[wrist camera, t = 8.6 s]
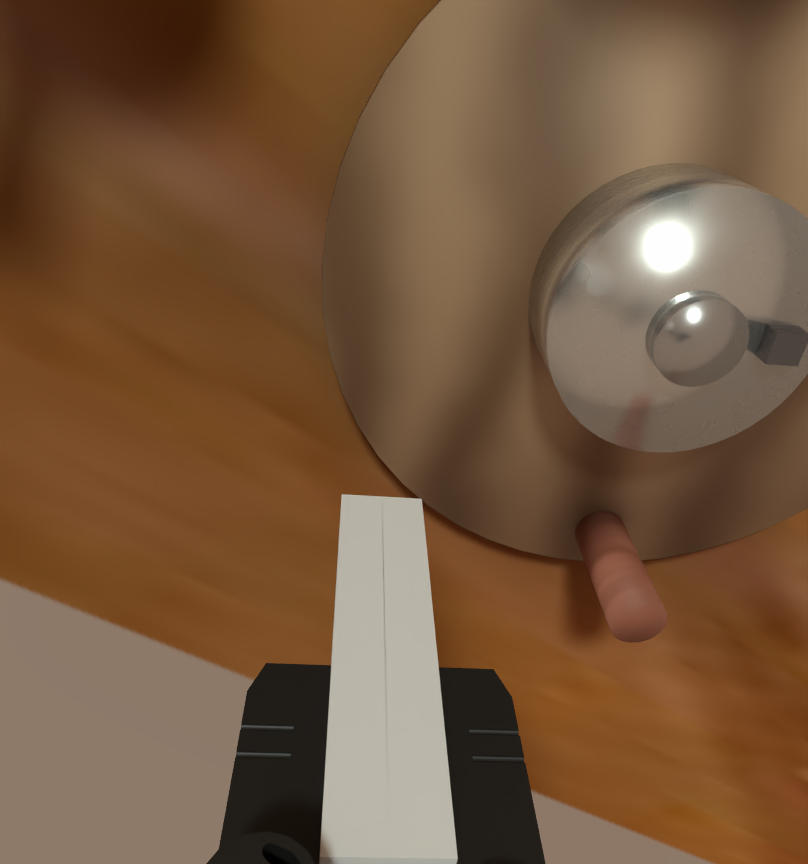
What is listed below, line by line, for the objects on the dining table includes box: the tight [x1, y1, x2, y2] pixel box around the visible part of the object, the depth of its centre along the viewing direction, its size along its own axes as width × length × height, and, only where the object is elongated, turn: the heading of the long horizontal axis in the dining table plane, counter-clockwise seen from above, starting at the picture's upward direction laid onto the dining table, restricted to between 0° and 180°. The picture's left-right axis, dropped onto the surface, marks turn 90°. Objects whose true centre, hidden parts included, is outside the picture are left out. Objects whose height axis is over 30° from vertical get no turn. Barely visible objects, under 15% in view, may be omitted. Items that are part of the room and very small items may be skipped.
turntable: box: [322, 0, 808, 642], centre depth 27 cm, size 28×28×7 cm
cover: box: [529, 163, 808, 452], centre depth 26 cm, size 10×10×5 cm
